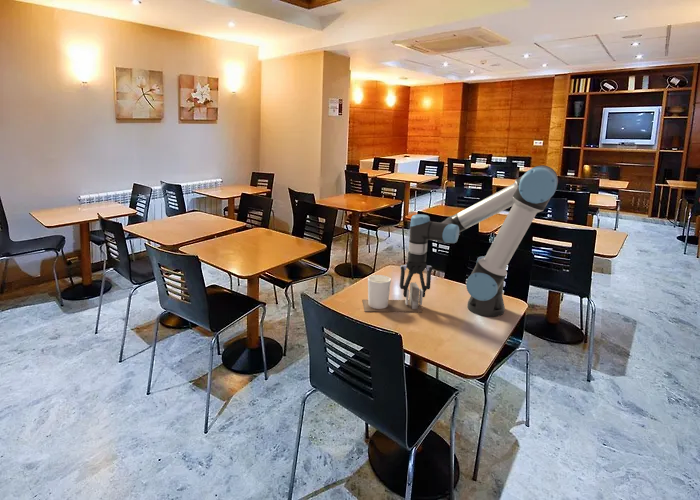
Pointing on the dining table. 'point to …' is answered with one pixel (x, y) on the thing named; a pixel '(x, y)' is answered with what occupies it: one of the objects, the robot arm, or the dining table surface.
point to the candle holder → (378, 291)
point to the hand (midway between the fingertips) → (413, 303)
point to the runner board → (399, 303)
